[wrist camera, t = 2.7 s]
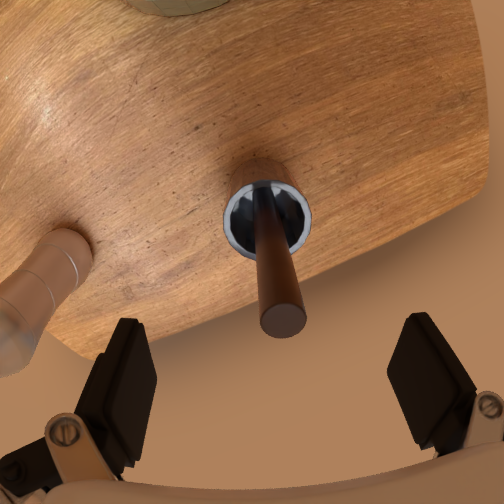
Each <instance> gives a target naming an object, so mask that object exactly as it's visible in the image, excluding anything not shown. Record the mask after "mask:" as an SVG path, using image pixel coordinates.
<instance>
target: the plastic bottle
mask: <svg viewBox="0 0 504 504" xmlns="http://www.w3.org/2000/svg"><path fill="white" fill-rule="evenodd" d="M91 267H92V254H91V250H90V247H89V245H88V243H87V241H86V240H85V239H84V238H83V237H82V236H81V235H80V234H79V233H77V232H75V231H73V230H70V229H67V228H59V229H56V230H54V231H51V232H49V233H47V234H46V235H45V236H43V237H42V239H41V240H40V241H39V242H38V243H37V245H36V246H35V248H34V249H33V251H32V253H31V254H30V255H29V256H28V257H27V258H26V260H25V261H24V262H23V263H22V264H21V265H20V267H19V268H18V269H17V270H15V271H14V272H13V273H12V274H11V275H10V276H9V277H7V278H6V279H5V280H4V281H3V282H2V283H0V378H1V377H6V376H9V375H12V374H15V373H18V372H20V371H21V370H22V369H24V368H25V367H26V366H27V365H28V364H29V362H30V360H31V358H32V356H33V354H34V351H35V349H36V347H37V345H38V342H39V340H40V338H41V335H42V333H43V331H44V329H45V327H46V326H47V324H48V322H49V321H50V319H51V317H52V316H53V314H54V312H55V311H56V309H57V308H58V307H59V306H60V305H61V303H62V302H63V301H64V300H65V299H66V298H67V297H68V296H69V295H70V294H71V293H73V292H74V291H75V290H76V289H77V288H79V287H80V286H81V285H82V284H83V283H84V282H85V280H86V279H87V277H88V274H89V272H90V270H91Z"/></svg>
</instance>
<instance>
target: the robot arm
mask: <svg viewBox="0 0 504 504" xmlns="http://www.w3.org/2000/svg"><path fill="white" fill-rule="evenodd" d="M387 375H388V378H389V380H390V382H391V385H392V387H393V390H394V392H395V394H396V397H397V399H398V401H399V404H400V406H401V409H402V411H403V414H404V416H405V418H406V421H407V424H408V426H409V429H410V431H411V434H412V436H413V439H414V441H415V443H416V444H419V446H420V449H421V450H424V449H428V448H431V447H433V446H434V448H435V450H436V451H435V454H434V457H433V459H432V460H428V461H425V462H422V463H418V464H415V465H412V466H408V467H404V468H401V469H397V470H393V471H389V472H385V473H380V474H376V475H372V476H367V477H362V478H357V479H351V480H346V481H339V482H333V483H326V484H319V485H311V486H301V487H292V488H291V487H290V488H276V489H253V490H219V489H196V488H182V487H170V486H160V485H152V484H143V483H134V482H126V481H125V479H124V478H123V476H122V475H121V474H122V473H123V471H124V467H131V468H134V465H135V461H139V460H140V458H141V453H142V448H143V443H144V438H145V434H146V429H147V424H148V419H149V415H150V410H151V406H152V401H153V397H154V393H155V388H156V384H157V375H156V371H155V368H154V364H153V360H152V357H151V353H150V349H149V345H148V341H147V337H146V333H145V329H144V325H143V323H139V322H138V320H137V319H134V318H120V320H119V322H118V324H117V326H116V328H115V330H114V333H113V335H112V337H111V339H110V342H109V344H108V346H107V348H106V351H105V353H100V354H99V355H98V357H97V358H96V361H95V363H94V365H93V368H92V370H91V372H90V375H89V377H88V379H87V382H86V384H85V387H84V389H83V391H82V394H81V396H80V399H79V401H78V404H77V406H76V409H75V412H74V414H72V413H61V414H58V415H56V416H54V417H52V418H51V419H50V420H49V422H48V423H47V425H46V427H45V433H44V434H45V437H43V438H41V439H39V440H37V441H35V442H32V443H30V444H28V445H26V446H24V447H22V448H20V449H18V450H16V451H13V452H11V453H9V454H7V455H5V456H4V457H2V458H1V459H0V504H504V401H503V399H502V398H501V397H500V396H499V395H498V394H496V393H494V392H491V391H483V392H481V393H479V394H478V395H477V394H476V392H475V391H476V390H477V388H476V387H475V385H474V383H473V381H472V380H471V378H470V377H469V375H468V373H467V372H466V370H465V369H464V367H463V365H462V364H461V362H460V361H459V359H458V358H457V356H456V355H455V353H454V351H453V350H452V348H451V347H450V345H449V344H448V342H447V341H446V340H445V338H444V337H443V335H442V334H441V332H440V331H439V329H438V328H437V326H436V325H435V323H434V322H433V321H432V319H431V318H430V317H429V315H428V314H427V313H426V312H420V313H412V314H411V315H410V316H409V318H407V319H406V321H405V323H404V326H403V329H402V332H401V335H400V337H399V340H398V342H397V345H396V347H395V350H394V353H393V355H392V358H391V360H390V363H389V365H388V368H387Z"/></svg>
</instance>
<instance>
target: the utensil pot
mask: <svg viewBox="0 0 504 504" xmlns="http://www.w3.org/2000/svg"><path fill="white" fill-rule="evenodd" d="M260 187H269V188H270V189H271V190H272V191H273V193H274V196H275V200H276V203H277V207H278V210H279V214H280V218H281V221H282V225H283V228H284V232H285V235H286V239H287V243H288V246H289V250H290V254H291V255H292V254H293V253H294V252H296V251H297V250H298V249H299V248H300V247H302V245H303V244H304V242H305V240H306V238H307V237H308V235H309V233H310V230H311V219H312V214H311V211H310V208H309V205H308V202H307V200H306V198H305V196H304V195H303V193H302V191H301V189H300V188H299V186H298V184H297V183H296V181H295V179H294V178H293V176H292V175H291V174H290V172H289V171H288V169H287V168H286V167H285V166H284V165H282V164H281V163H279V162H278V161H276V160H273V159H269V158H255V159H251V160H249V161H247V162H245V163H243V164H242V165H241V166H239V167H238V168H237V170H236V171H235V172H234V174H233V176H232V178H231V180H230V185H229V188H228V192H227V197H226V202H225V207H224V212H223V230H224V233H225V235H226V237H227V239H228V241H229V243H230V245H231V246H232V247H233V248H234V249H235V250H236V251H238V252H239V253H240V254H241V255H242V256H244V257H247V258H249V259H252V260H255V261H256V250H255V234H254V217H253V201H252V194H253V192H254V190H255V189H257V188H260Z"/></svg>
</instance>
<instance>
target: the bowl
mask: <svg viewBox="0 0 504 504" xmlns="http://www.w3.org/2000/svg"><path fill="white" fill-rule="evenodd" d="M120 1H121V2H123V3H124V4H125V5H128V6H130V7H132V8H134V9H136V10H138V11H140V12H142V13H146V14H153V15H160V16H168V17H169V16H178V15H189V14H196V13H198V12H201V11H204V10H208V9H211V8H214V7H217V6H220V5H222V4H223V3H225V2H227V1H229V0H120Z"/></svg>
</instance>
